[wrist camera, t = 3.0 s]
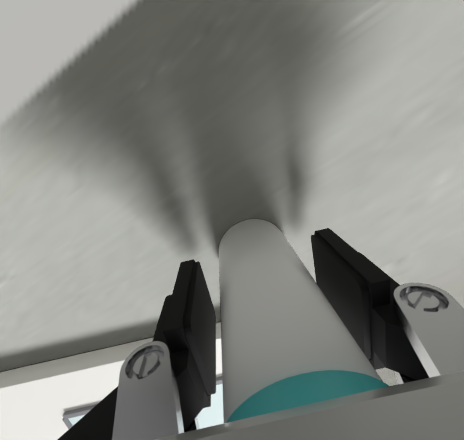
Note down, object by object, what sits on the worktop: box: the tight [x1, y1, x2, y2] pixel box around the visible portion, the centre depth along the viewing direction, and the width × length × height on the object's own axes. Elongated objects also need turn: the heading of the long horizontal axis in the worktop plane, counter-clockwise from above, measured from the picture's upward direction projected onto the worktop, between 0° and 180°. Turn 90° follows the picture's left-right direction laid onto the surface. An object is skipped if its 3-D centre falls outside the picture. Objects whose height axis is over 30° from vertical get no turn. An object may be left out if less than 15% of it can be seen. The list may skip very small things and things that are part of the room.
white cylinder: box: [219, 219, 389, 423], centre depth 8 cm, size 4×4×10 cm
